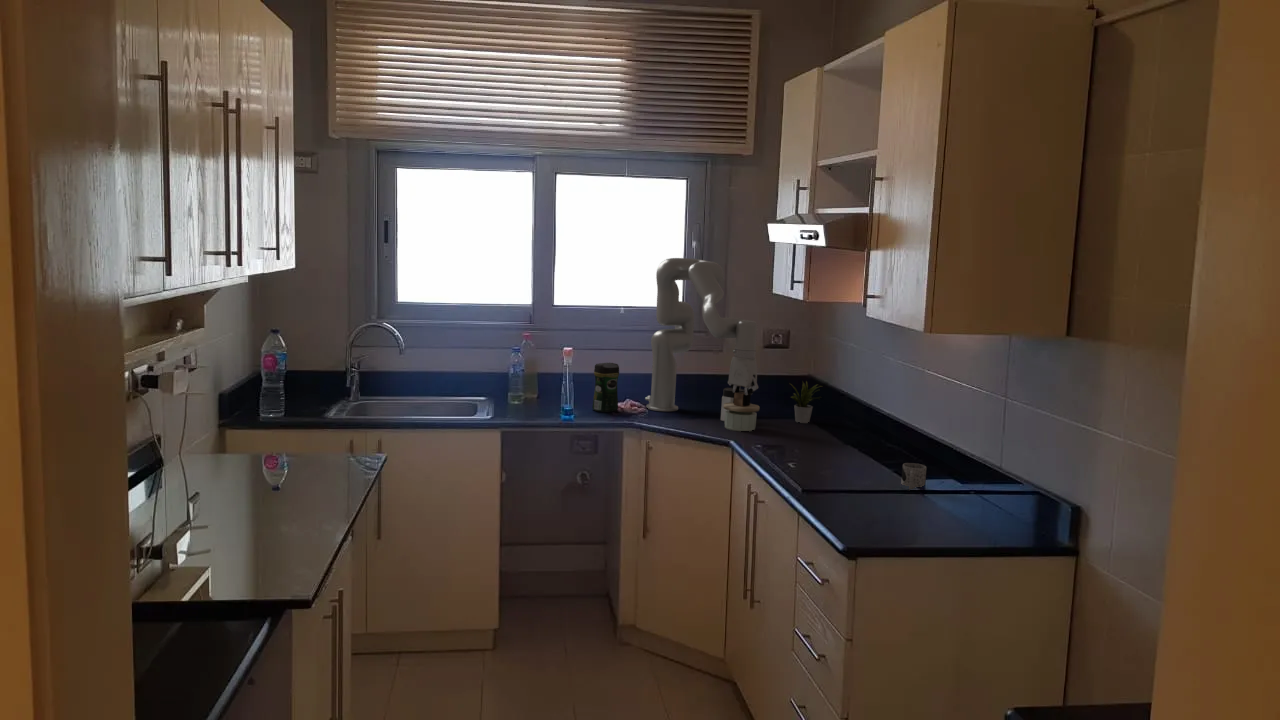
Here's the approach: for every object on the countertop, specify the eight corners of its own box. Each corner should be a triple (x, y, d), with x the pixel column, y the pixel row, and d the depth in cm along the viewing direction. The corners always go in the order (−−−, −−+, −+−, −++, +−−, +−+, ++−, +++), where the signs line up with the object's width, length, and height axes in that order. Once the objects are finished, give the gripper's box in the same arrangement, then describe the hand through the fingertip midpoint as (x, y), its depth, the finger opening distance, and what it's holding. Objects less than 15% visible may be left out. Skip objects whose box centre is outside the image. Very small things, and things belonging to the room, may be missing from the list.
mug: (902, 484, 289) (904, 461, 288) (925, 487, 286) (927, 465, 285) (898, 491, 279) (900, 469, 278) (922, 495, 277) (924, 472, 276)
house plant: (830, 425, 372) (834, 383, 370) (798, 426, 368) (801, 383, 365) (811, 418, 386) (814, 377, 383) (780, 419, 381) (783, 377, 379)
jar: (748, 422, 371) (750, 390, 370) (732, 423, 366) (734, 392, 364) (731, 417, 378) (733, 387, 376) (716, 419, 373) (718, 388, 371)
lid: (715, 407, 357) (717, 391, 357) (739, 404, 366) (740, 389, 365) (742, 413, 348) (743, 397, 347) (766, 410, 357) (767, 394, 356)
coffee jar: (608, 407, 385) (610, 360, 382) (621, 411, 379) (623, 363, 376) (588, 409, 379) (590, 361, 376) (601, 413, 373) (603, 364, 370)
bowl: (718, 427, 358) (719, 410, 357) (738, 424, 366) (739, 408, 365) (741, 432, 350) (742, 416, 349) (761, 429, 358) (762, 413, 357)
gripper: (720, 352, 358) (717, 401, 360) (755, 358, 346) (752, 409, 348) (734, 351, 363) (731, 399, 365) (769, 357, 351) (765, 407, 353)
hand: (741, 403), depth 357 cm, fingers closed on lid, 4 cm apart
